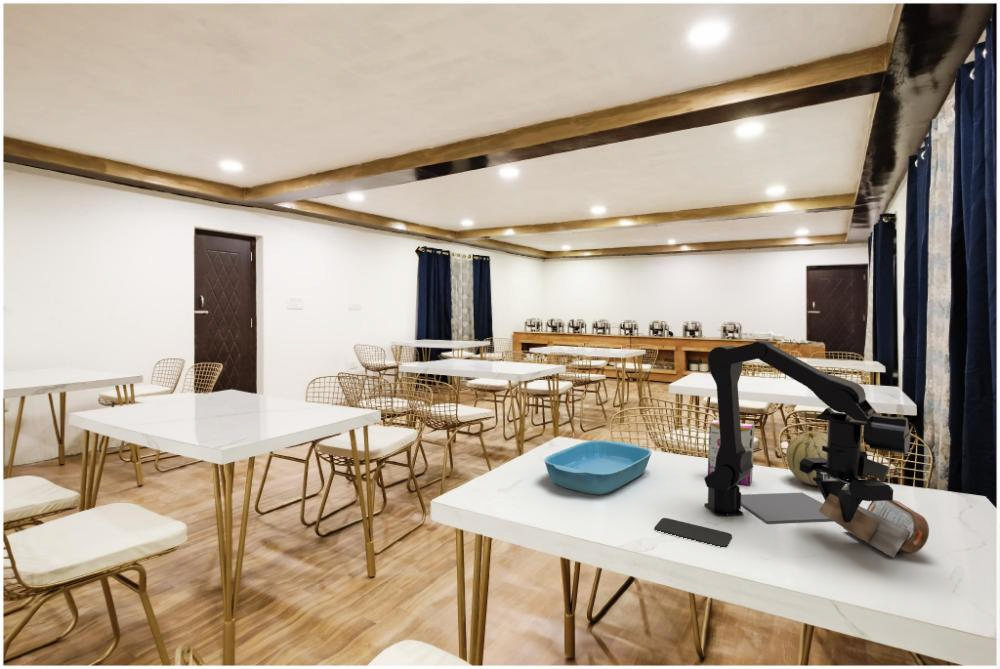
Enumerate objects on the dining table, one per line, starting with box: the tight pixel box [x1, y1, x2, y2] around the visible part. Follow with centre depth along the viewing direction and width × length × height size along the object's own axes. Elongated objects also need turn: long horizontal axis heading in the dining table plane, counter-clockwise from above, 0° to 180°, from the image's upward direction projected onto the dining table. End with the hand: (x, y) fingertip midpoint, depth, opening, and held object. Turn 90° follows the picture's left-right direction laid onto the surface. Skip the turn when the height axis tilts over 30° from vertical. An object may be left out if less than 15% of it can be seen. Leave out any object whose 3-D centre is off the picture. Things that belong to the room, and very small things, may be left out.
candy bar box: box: [707, 419, 755, 487], centre depth 143 cm, size 11×5×16 cm, turn 58°
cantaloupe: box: [785, 431, 828, 487], centre depth 140 cm, size 15×15×15 cm
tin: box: [867, 499, 930, 555], centre depth 105 cm, size 15×3×8 cm, turn 173°
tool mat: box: [741, 492, 834, 525], centre depth 124 cm, size 20×16×1 cm
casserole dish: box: [544, 439, 653, 496], centre depth 146 cm, size 37×22×7 cm, turn 141°
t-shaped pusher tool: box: [819, 493, 910, 559], centre depth 105 cm, size 12×12×6 cm
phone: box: [654, 517, 733, 548], centre depth 111 cm, size 7×1×15 cm
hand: (841, 518), depth 105 cm, fingers closed on t-shaped pusher tool, 3 cm apart
